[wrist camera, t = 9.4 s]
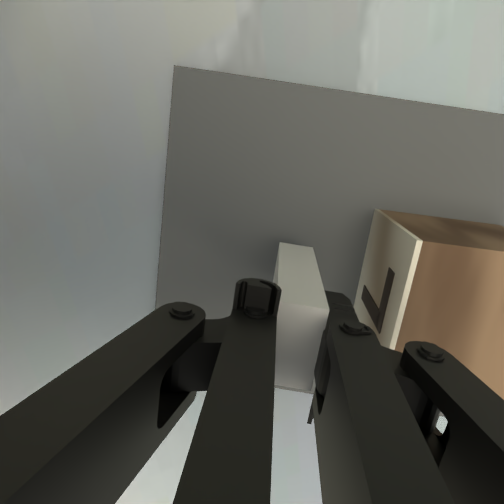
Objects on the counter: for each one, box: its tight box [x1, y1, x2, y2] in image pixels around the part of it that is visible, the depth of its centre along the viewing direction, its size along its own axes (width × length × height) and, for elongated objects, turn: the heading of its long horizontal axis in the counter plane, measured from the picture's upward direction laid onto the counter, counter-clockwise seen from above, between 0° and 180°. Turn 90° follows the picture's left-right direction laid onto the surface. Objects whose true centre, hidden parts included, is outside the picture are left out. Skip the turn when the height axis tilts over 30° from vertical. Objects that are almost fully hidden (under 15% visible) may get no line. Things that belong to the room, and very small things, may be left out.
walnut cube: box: [354, 209, 504, 400], centre depth 16 cm, size 6×6×6 cm
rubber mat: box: [155, 65, 504, 417], centre depth 19 cm, size 24×16×1 cm, turn 82°
